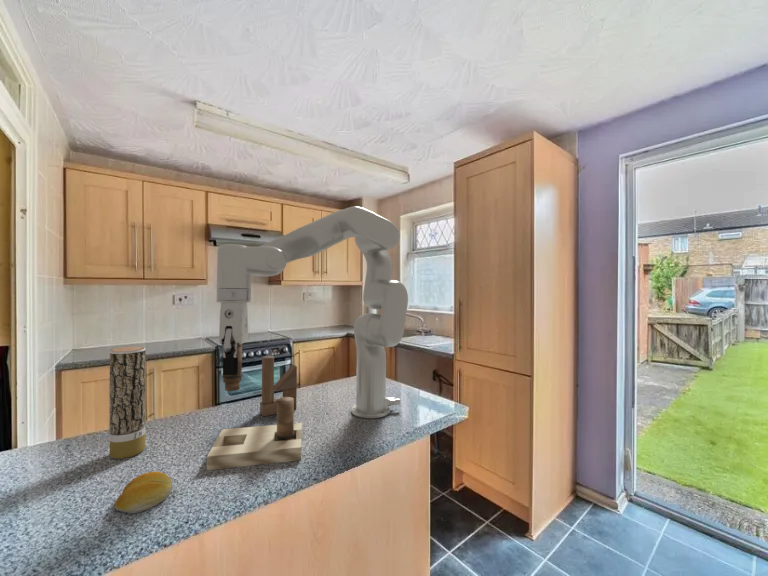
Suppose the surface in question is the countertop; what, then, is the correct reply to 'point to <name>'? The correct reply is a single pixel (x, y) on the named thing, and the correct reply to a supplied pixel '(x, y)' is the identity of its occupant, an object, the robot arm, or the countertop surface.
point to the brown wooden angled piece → (276, 386)
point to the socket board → (253, 447)
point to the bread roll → (144, 492)
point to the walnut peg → (234, 380)
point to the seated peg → (285, 418)
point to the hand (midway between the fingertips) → (232, 371)
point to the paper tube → (127, 401)
